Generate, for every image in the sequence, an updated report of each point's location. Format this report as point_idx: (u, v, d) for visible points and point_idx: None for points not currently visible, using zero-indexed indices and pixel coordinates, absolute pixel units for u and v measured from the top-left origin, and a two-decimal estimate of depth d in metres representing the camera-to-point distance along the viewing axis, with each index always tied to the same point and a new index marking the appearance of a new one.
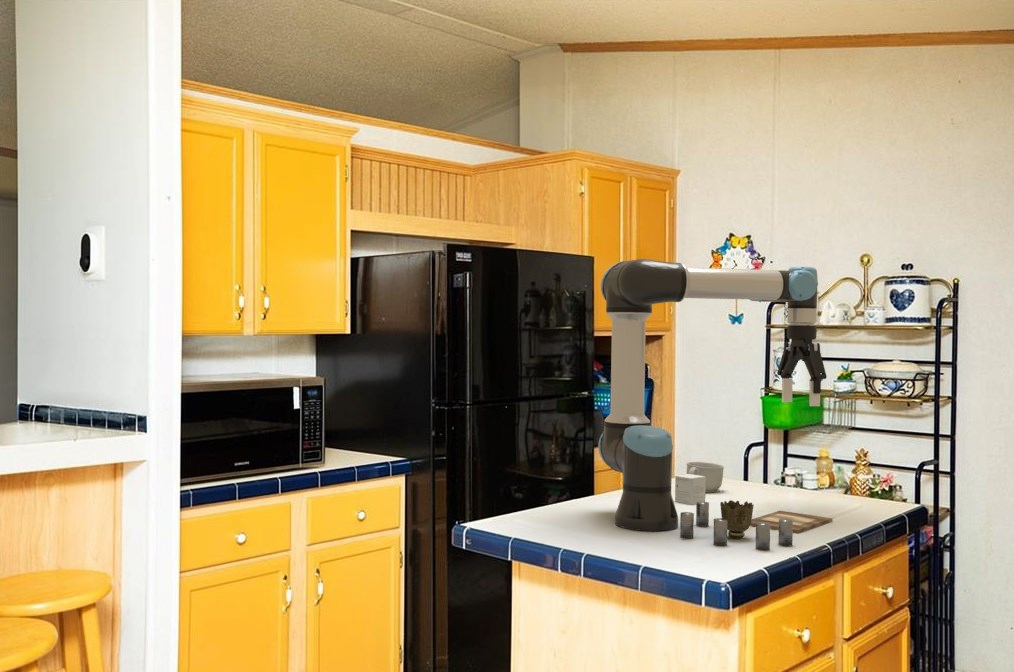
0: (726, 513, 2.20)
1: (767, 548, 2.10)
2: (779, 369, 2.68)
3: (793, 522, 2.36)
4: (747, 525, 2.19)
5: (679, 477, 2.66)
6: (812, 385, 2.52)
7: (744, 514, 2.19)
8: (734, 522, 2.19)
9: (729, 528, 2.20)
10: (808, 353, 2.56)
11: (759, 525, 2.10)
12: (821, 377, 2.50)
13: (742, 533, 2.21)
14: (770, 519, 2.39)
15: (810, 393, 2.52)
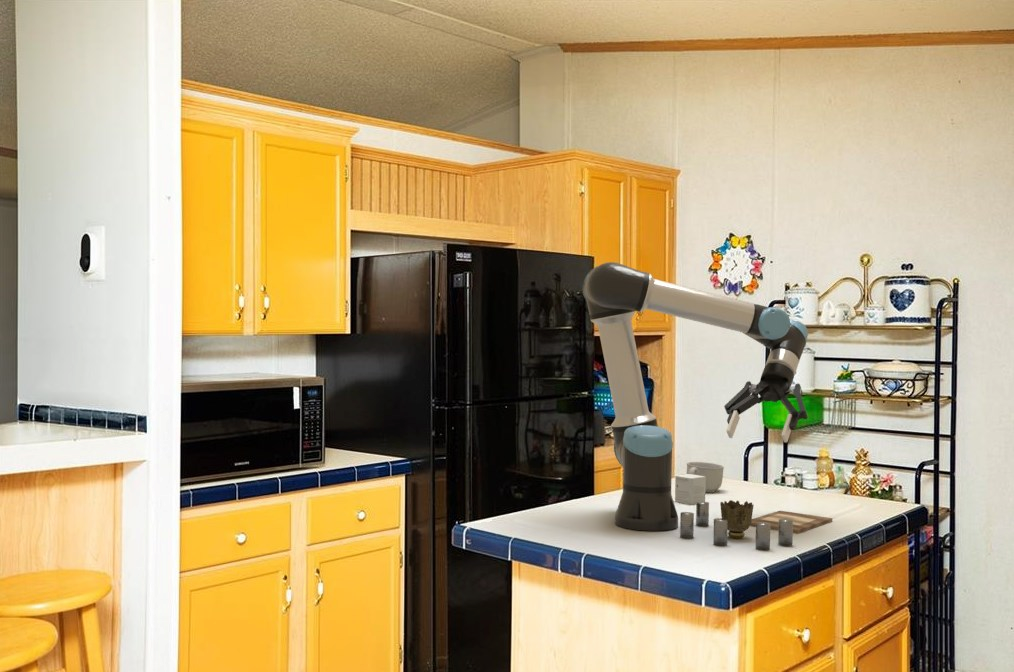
0: (726, 513, 2.20)
1: (767, 548, 2.10)
2: (729, 403, 2.40)
3: (793, 522, 2.36)
4: (747, 525, 2.19)
5: (679, 477, 2.66)
6: (790, 418, 2.29)
7: (744, 514, 2.19)
8: (734, 522, 2.19)
9: (729, 528, 2.20)
10: None
11: (759, 525, 2.10)
12: (805, 414, 2.29)
13: (742, 533, 2.21)
14: (770, 519, 2.39)
15: (786, 424, 2.28)
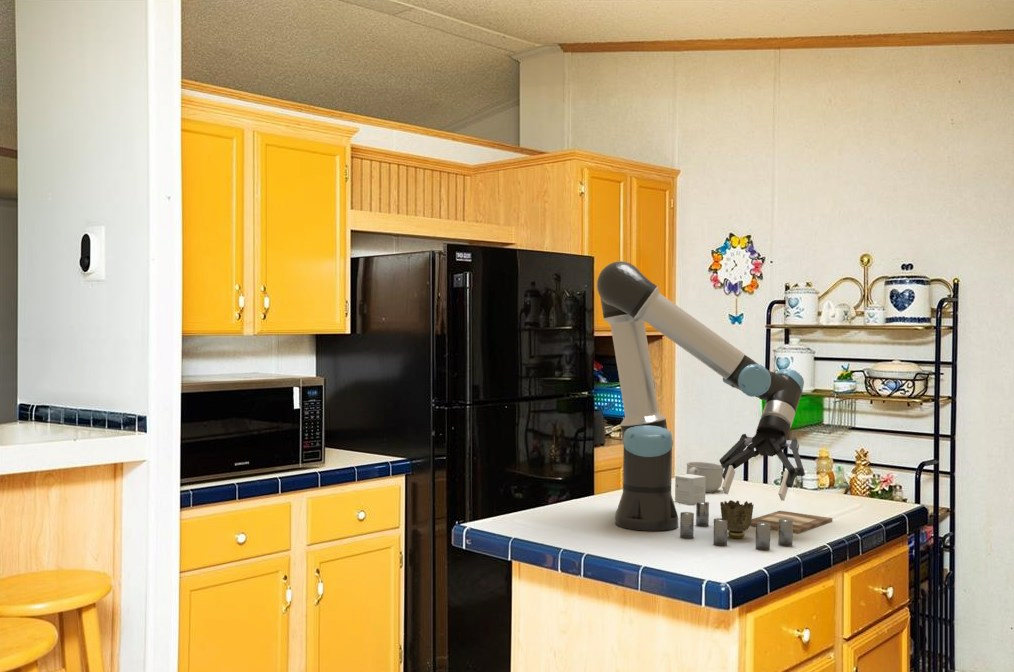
0: (726, 513, 2.20)
1: (767, 548, 2.10)
2: (725, 457, 2.35)
3: (793, 522, 2.36)
4: (747, 525, 2.19)
5: (679, 477, 2.66)
6: (787, 475, 2.24)
7: (744, 514, 2.19)
8: (734, 522, 2.19)
9: (729, 528, 2.20)
10: None
11: (759, 525, 2.10)
12: (803, 471, 2.24)
13: (742, 533, 2.21)
14: (770, 519, 2.39)
15: (783, 482, 2.22)
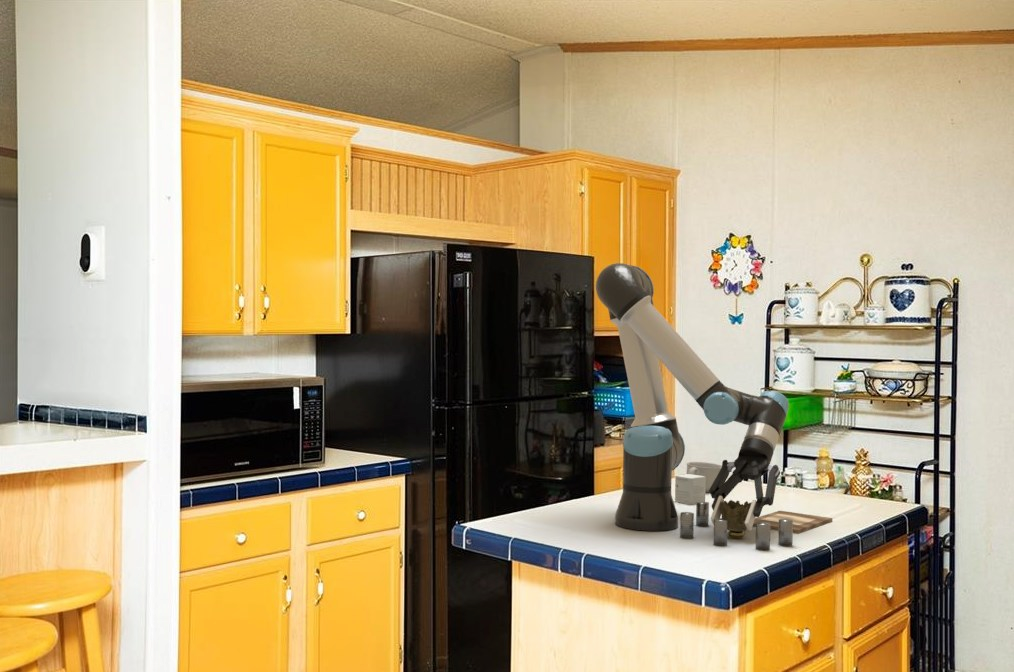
0: (726, 513, 2.20)
1: (767, 548, 2.10)
2: (713, 486, 2.27)
3: (793, 522, 2.36)
4: None
5: (679, 477, 2.66)
6: (755, 505, 2.19)
7: (744, 514, 2.19)
8: (734, 522, 2.19)
9: (729, 528, 2.20)
10: None
11: (759, 525, 2.10)
12: (770, 500, 2.19)
13: (742, 533, 2.21)
14: (770, 519, 2.39)
15: (750, 511, 2.18)
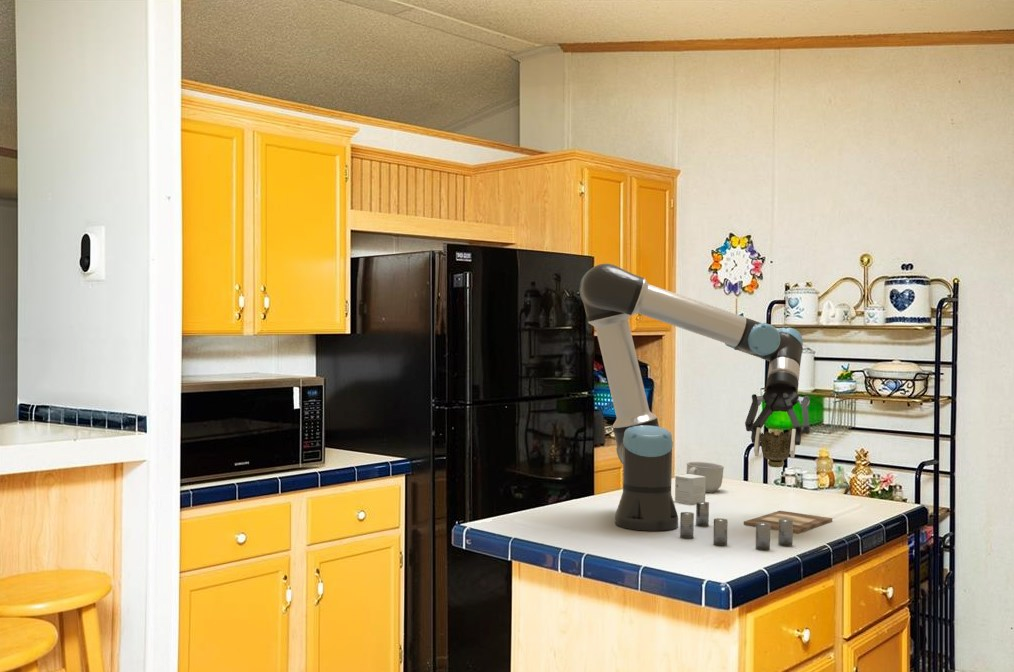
0: (769, 443, 2.26)
1: (767, 548, 2.10)
2: (748, 419, 2.33)
3: (793, 522, 2.36)
4: (788, 453, 2.27)
5: (679, 477, 2.66)
6: (795, 433, 2.27)
7: (786, 443, 2.26)
8: (777, 451, 2.26)
9: (771, 457, 2.27)
10: None
11: (759, 525, 2.10)
12: (809, 428, 2.28)
13: (782, 462, 2.28)
14: (770, 519, 2.39)
15: (792, 439, 2.25)
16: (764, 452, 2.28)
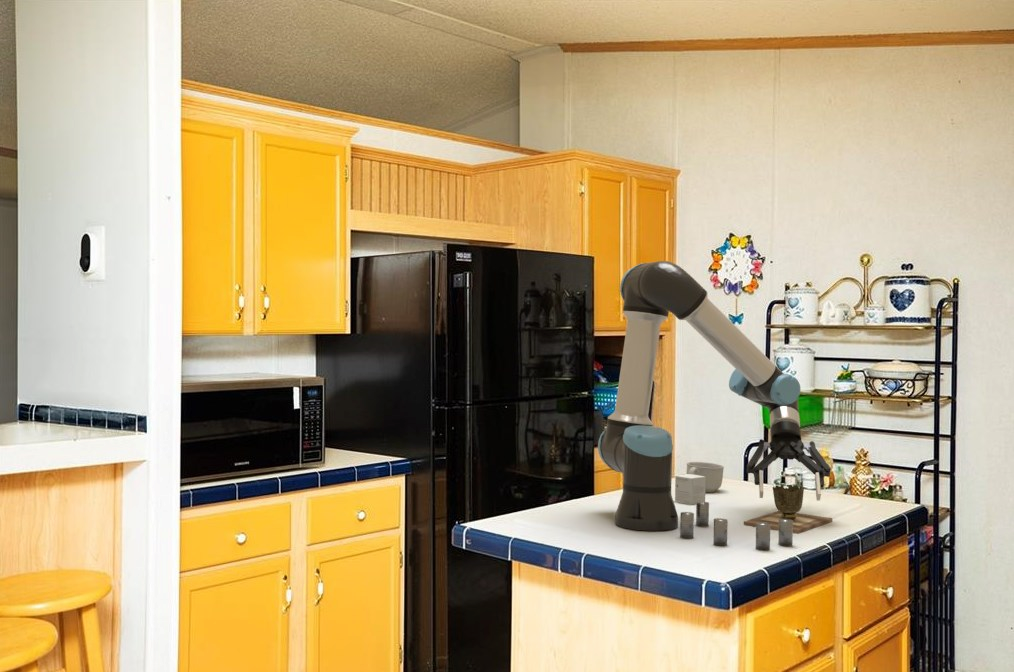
0: (785, 497, 2.37)
1: (767, 548, 2.10)
2: (751, 462, 2.44)
3: (793, 522, 2.36)
4: (801, 506, 2.38)
5: (679, 477, 2.66)
6: None
7: (800, 496, 2.37)
8: (792, 504, 2.37)
9: (787, 511, 2.37)
10: None
11: (759, 525, 2.10)
12: None
13: (795, 514, 2.39)
14: (770, 519, 2.39)
15: (818, 483, 2.37)
16: (779, 506, 2.38)
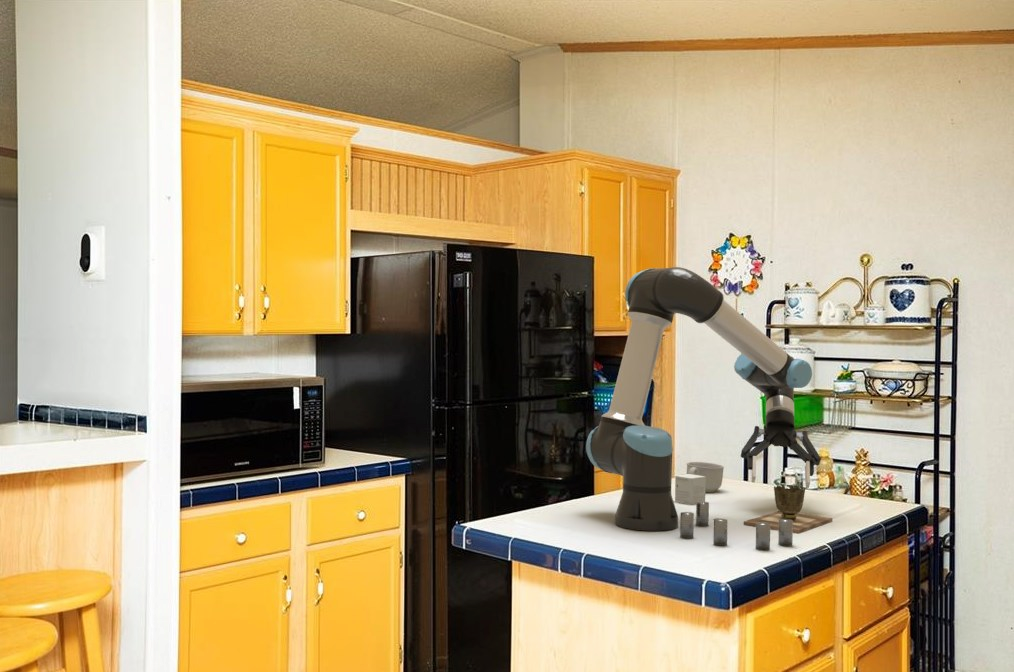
0: (786, 497, 2.37)
1: (767, 548, 2.10)
2: (746, 447, 2.57)
3: (793, 522, 2.36)
4: None
5: (679, 477, 2.66)
6: None
7: (801, 497, 2.37)
8: (793, 505, 2.37)
9: (787, 511, 2.37)
10: None
11: (759, 525, 2.10)
12: None
13: (795, 514, 2.39)
14: (770, 519, 2.39)
15: (808, 471, 2.50)
16: (780, 506, 2.38)
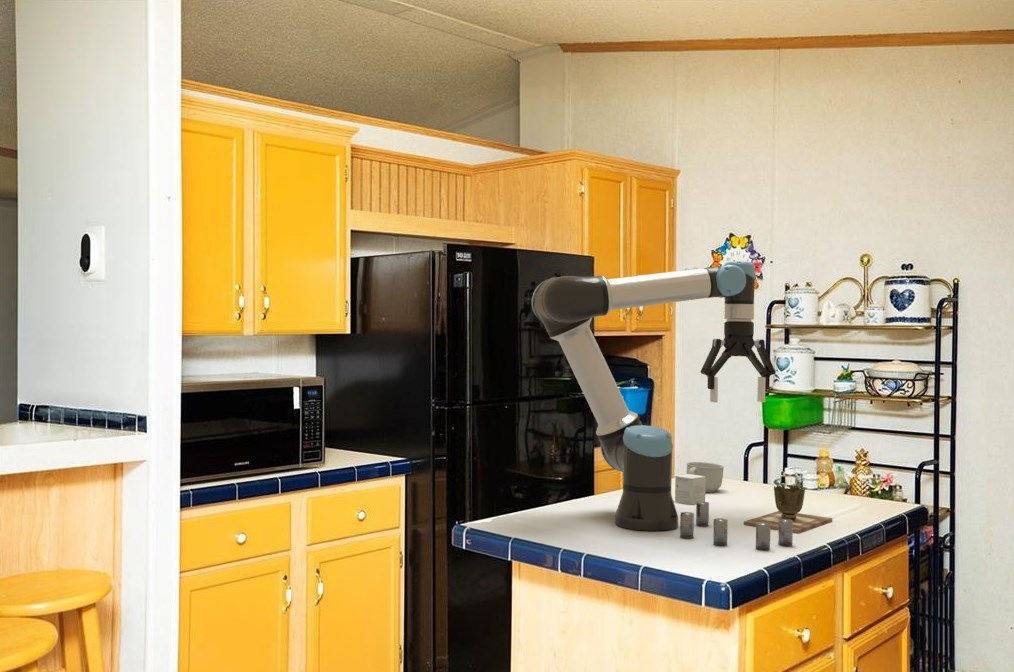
0: (786, 497, 2.37)
1: (767, 548, 2.10)
2: (708, 368, 2.50)
3: (793, 522, 2.36)
4: None
5: (679, 477, 2.66)
6: None
7: (801, 497, 2.37)
8: (793, 505, 2.37)
9: (787, 511, 2.37)
10: None
11: (759, 525, 2.10)
12: None
13: (795, 514, 2.39)
14: (770, 519, 2.39)
15: (764, 389, 2.54)
16: (780, 506, 2.38)
